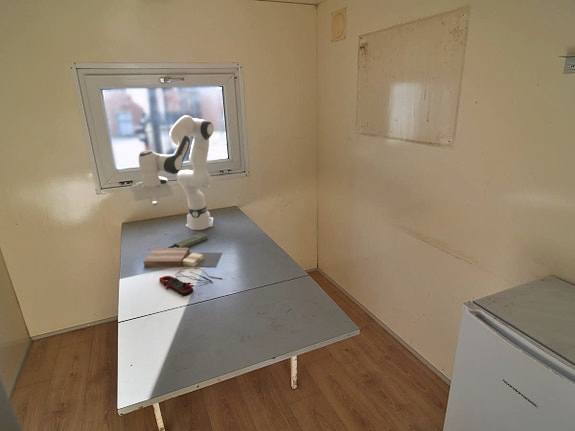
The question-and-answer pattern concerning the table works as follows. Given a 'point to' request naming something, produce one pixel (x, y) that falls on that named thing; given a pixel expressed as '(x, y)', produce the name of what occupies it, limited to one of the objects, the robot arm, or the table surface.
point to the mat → (208, 260)
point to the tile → (193, 259)
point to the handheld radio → (190, 241)
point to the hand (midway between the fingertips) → (154, 205)
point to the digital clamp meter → (181, 283)
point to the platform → (166, 257)
